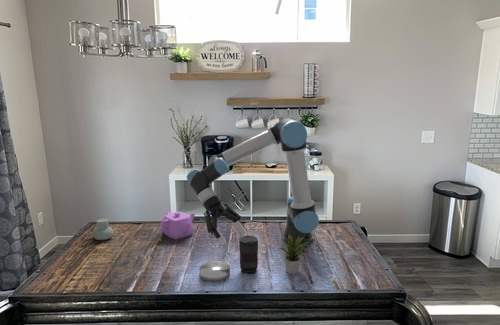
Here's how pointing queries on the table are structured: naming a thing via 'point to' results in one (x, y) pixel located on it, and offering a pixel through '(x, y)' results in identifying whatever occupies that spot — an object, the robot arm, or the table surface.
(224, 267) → the cap plate
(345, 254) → the table surface
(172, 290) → the table surface
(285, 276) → the table surface
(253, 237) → the camera lens
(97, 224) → the air freshener
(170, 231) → the teakettle
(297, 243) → the house plant
